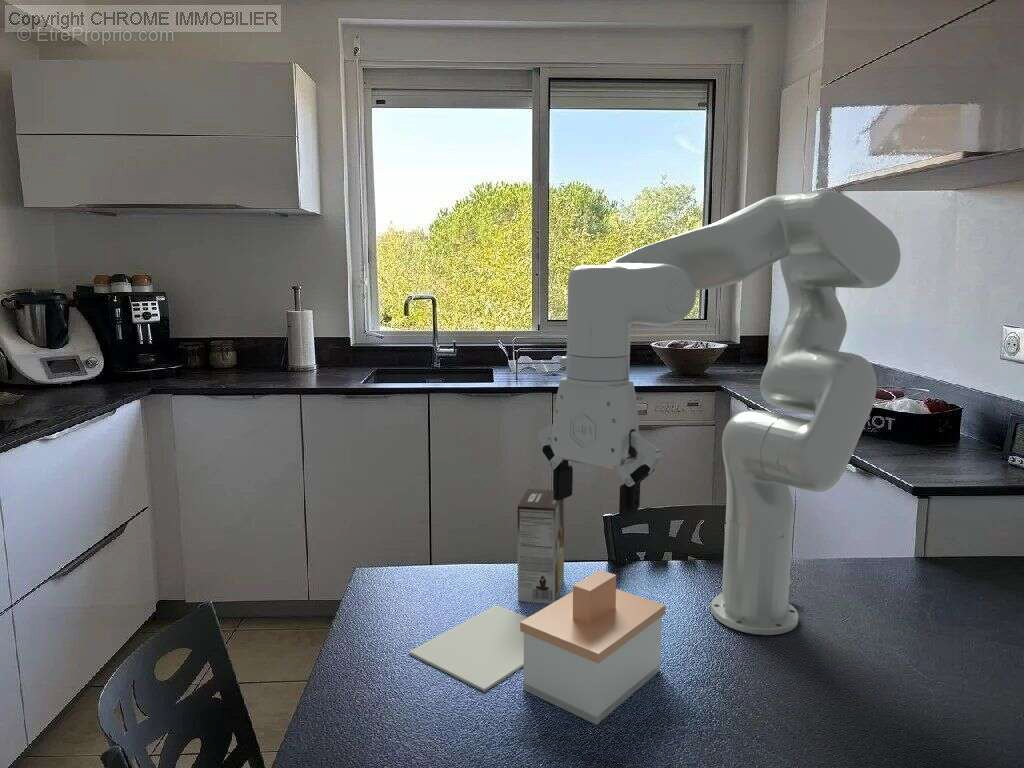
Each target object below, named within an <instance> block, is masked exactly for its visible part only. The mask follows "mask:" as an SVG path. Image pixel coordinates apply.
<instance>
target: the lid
mask: <svg viewBox="0 0 1024 768" xmlns="http://www.w3.org/2000/svg"><path fill="white" fill-rule="evenodd" d="M664 615H666V604H663V603H660V602H657V601H655V600H651V599H648V598H646V597H642V596H639V595H635V594H633V593H630V592H627V591H624V590H621V589H618V588H617V574H615V573H611V572H608V571H604V570H601V569H599V570H597V571H595V572H594V573H592V574H591V575H588V576H587V577H584V579H582V580H580V581H578V582H576V583H575V584H573V585H572V591H571V592H569V593H568V594H566V595H564V596H562V597H560V598H558V599H557V601H555V602H554V603H552V604H548V605H546V606H545V607H544V608H542V609H540V610H539V611H537V612H535V613H533V614H532V615H530V616H527V617H528V618H526V619H525V620H523V621H521V622H520V631H521V632H523V633H526V634H528V635H531V636H533V637H535V638H538V639H540V640H543V641H545V642H547V643H550V644H552V645H555V646H557V647H559V648H562V649H564V650H567V651H569V652H571V653H574V654H576V655H579V656H581V657H584V658H586V659H588V660H591V661H593V662H596V663H598V664H599V663H600V662H601V661H603V660H604V659H605V658H607V657H608V656H609V655H611V654H612V653H613V652H615V651H616V650H617V649H619V648H620V647H621V646H623V645H624V644H625V643H627V642H628V641H629V640H631V639H632V638H633V637H635V636H636V635H637V634H639V633H640V632H641V631H643V630H644V629H645V628H647V627H648V626H649V625H651V624H652V623H653V622H655V621H656V620H657V619H659V618H660V617H661V616H662V617H663V616H664Z"/></svg>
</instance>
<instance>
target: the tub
mask: <svg viewBox="0 0 1024 768" xmlns="http://www.w3.org/2000/svg"><path fill="white" fill-rule="evenodd" d="M662 617H663V616H661V617H660V618H659V619H657V620H656V621H655V622H653V623H652V624H651V625H649V626H648V627H647V628H645V629H644V630H643V631H641V632H640V633H639V634H637V635H636V636H635V637H633V638H632V639H631V640H629V641H628V642H627V643H625V644H624V645H623V646H621V647H620V648H619V649H617V650H616V651H615V652H613V653H612V654H611V655H609V656H608V657H607V658H605V659H604V660H603V661H601V662H600V663H599V664H598V663H596V662H593V661H591V660H588V659H586V658H584V657H581V656H579V655H576V654H574V653H571V652H569V651H567V650H564V649H562V648H559V647H557V646H555V645H552V644H550V643H547V642H545V641H543V640H540V639H538V638H535V637H533V636H531V635H528V634H526V633H524V666H523V691H525V692H527V693H530V694H532V695H533V696H536V697H537V698H540V699H542V700H544V701H546V702H548V703H550V704H552V705H554V706H556V707H558V708H561V709H562V710H565V711H568V712H569V713H570V714H572V715H575V716H577V717H579V718H582V719H583V720H586V721H588V722H589V723H592V724H594V725H596V726H597V725H599V724H600V723H601V722H602V721H603V720H604V719H605V718H607V717H608V716H609V715H610V714H612V713H613V711H615V710H616V709H617V708H618V707H619V706H621V704H623V703H624V702H626V700H627V699H628V698H630V697H631V696H632V695H634V693H636V692H637V691H638V690H639V689H640V688H641V687H643V686H644V685H645V684H646V683H647V682H649V681H650V680H651V679H652V678H653V677H654V676H656V675H657V674H658V673H659V672H660V671H661V652H662V651H661V650H662V626H663V625H662V619H663V618H662Z"/></svg>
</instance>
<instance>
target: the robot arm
mask: <svg viewBox="0 0 1024 768" xmlns="http://www.w3.org/2000/svg"><path fill="white" fill-rule="evenodd" d="M901 254H902V253H901V248H900V244H899V241H898V239H897V237H896V235H895V234H894V232H893V231H892V230H891V229H890V228H889V227H888V225H886V224H884V223H883V221H881V220H880V219H878V217H876V216H875V215H873V214H872V213H871V212H869V211H868V210H867V209H866V208H865V207H864V206H863V205H861V204H859V203H858V202H857V201H855V200H854V199H852V198H851V197H849V196H847V195H845V194H843V193H841V192H838V191H834V190H830V189H823V190H812V191H811V190H809V191H800V192H798V191H797V192H789V193H779V194H775V195H771V196H767V197H765V198H763V199H761V200H759V201H756V202H755V203H752V204H750V205H748V206H747V207H744V208H742V209H740V210H738V211H736V212H734V213H732V214H730V215H728V216H725V217H723V218H722V219H720V220H717V221H715V222H713V223H710V224H708V225H705V226H701V227H700V228H696V229H692V230H689V231H686V232H683V233H680V234H677V235H675V236H671V237H669V238H664V239H662V240H659V241H656V242H652V243H649V244H647V245H644V246H641V247H639V248H636V249H634V250H632V251H630V252H627V253H625V254H623V255H621V256H619V257H617V258H615V259H613V260H611V261H609V262H607V263H606V264H584V265H582V264H581V265H578V266H575V267H573V268H572V269H571V270H570V272H569V273H568V280H567V313H566V314H567V316H566V318H567V321H566V322H567V323H566V324H567V325H566V326H567V327H566V334H567V335H566V355H565V356H564V355H563V356H561V358H560V361H559V364H560V366H561V368H562V367H563V368H565V369H566V370H565V371H566V372H565V375H566V376H565V377H562V378H560V381H559V384H558V389H557V394H556V397H555V403H554V410H553V411H554V412H553V419H552V421H553V422H552V424H549V425H548V426H546V427H544V428H541V429H539V430H538V431H537V436H538V439H539V442H540V444H541V446H542V449H541V450H542V452H543V455H544V456H545V458H547V461H549V462H548V466H549V468H550V469H551V470H552V473H553V475H552V479H553V480H552V490H554V500H557V501H559V500H562V499H564V500H565V499H566V498H567V499H568V498H569V497H571V496H572V495H573V481H574V480H573V479H574V478H573V477H574V475H573V474H574V471H573V470H574V469H573V465H570V464H569V463H571V462H572V463H578V464H581V465H587V466H592V467H596V468H602V469H606V470H607V469H608V470H613V469H616V471H617V473H618V475H619V477H620V478H621V479H622V481H623V484H621V485H620V486H619V506H618V516H619V517H620V518H622V519H626V518H629V517H632V516H633V515H635V514H636V513H638V510H639V508H640V502H641V483H642V482H644V481H645V479H647V477H649V476H650V475H651V474H652V473H653V472H654V471H655V467H656V466H657V464H658V463H659V461H660V459H661V457H662V455H663V453H662V451H661V450H660V449H659V448H658V447H656V445H654V444H653V443H651V442H650V441H649V440H647V439H646V438H644V436H642V435H641V434H640V428H639V427H640V425H639V409H638V402H637V401H638V400H637V396H636V391H635V390H636V389H635V385H634V382H633V381H630V370H631V369H630V367H631V366H630V363H631V361H630V360H631V355H630V354H631V336H632V335H631V330H632V329H631V328H632V327H631V326H632V325H634V324H639V325H646V326H653V327H654V326H656V327H666V326H671V325H674V324H677V323H679V322H681V321H682V320H684V319H685V318H686V317H687V316H688V315H690V313H691V311H692V310H693V308H694V306H695V303H696V301H697V300H696V299H697V291H699V290H709V289H716V288H721V287H726V286H731V285H734V284H738V283H740V282H742V281H744V280H746V279H747V278H749V277H751V276H753V275H754V274H756V273H759V272H760V271H761V270H763V269H765V268H767V267H769V266H770V265H772V264H775V263H777V262H778V261H779V264H780V265H779V266H780V269H781V270H780V271H781V274H782V278H783V280H784V284H785V288H786V293H787V297H788V315H787V318H786V321H785V323H784V326H783V329H782V330H781V333H780V335H779V337H778V339H777V341H776V343H775V345H774V348H773V350H772V352H771V355H770V356H769V359H768V361H767V363H766V365H765V367H764V370H763V372H762V375H761V379H760V383H759V391H760V395H761V396H762V398H763V400H765V401H766V402H767V403H768V404H770V405H772V406H774V407H776V408H779V409H784V410H787V411H792V412H796V413H799V414H806V415H811V416H812V418H811V419H810V420H809V419H807V418H806V419H805V418H800V417H795V416H792V415H787V414H782V413H778V412H773V411H768V410H761V409H748V410H744V411H741V412H739V413H736V414H735V415H733V416H732V417H731V418H730V419H729V420H728V421H727V423H726V425H725V427H724V429H723V433H722V437H721V451H722V458H723V463H724V464H723V465H724V469H725V479H726V480H725V481H726V506H725V521H724V522H725V529H724V543H723V544H724V547H723V549H724V550H723V568H722V569H723V570H722V571H723V572H722V589H721V591H722V592H721V593H719V594H717V595H715V597H713V598H712V600H711V603H710V611H711V614H712V615H713V617H714V618H715V619H716V620H717V621H718V622H719V623H721V624H722V625H724V626H726V627H728V628H730V629H733V630H735V631H739V632H742V633H746V634H751V635H758V636H759V635H761V636H775V635H781V634H786V633H789V632H791V631H793V630H795V628H797V626H798V623H799V612H798V610H797V609H796V607H794V605H792V604H791V603H790V602H789V593H790V592H789V591H790V585H791V584H792V579H791V575H790V574H791V560H792V559H791V558H792V545H793V544H792V543H793V532H794V531H793V530H794V529H793V528H794V519H795V517H794V516H795V507H794V499H793V496H792V493H791V489H790V488H789V487H793V488H796V489H800V490H803V491H807V492H814V493H822V492H826V491H828V490H830V489H832V488H833V487H834V486H835V485H836V484H837V483H838V482H839V481H840V479H841V478H842V476H843V474H844V472H845V471H846V469H847V467H848V464H849V462H850V460H851V458H852V457H853V456H852V455H853V454H854V450H855V449H856V446H857V444H858V441H859V439H860V437H861V435H862V432H863V430H864V428H865V425H866V424H867V421H868V419H869V417H870V414H871V412H872V410H873V406H874V404H875V400H876V395H877V375H876V372H875V368H874V366H872V364H871V363H870V362H869V360H867V359H866V358H865V357H863V356H861V355H859V354H855V353H852V352H846V351H840V349H841V347H842V345H843V344H842V343H843V341H844V339H845V336H846V333H847V329H848V326H847V325H848V324H847V317H846V315H845V311H844V309H843V307H842V305H841V303H840V301H839V300H838V297H837V296H836V293H835V291H834V288H842V289H843V288H849V289H874V288H878V287H881V286H884V285H886V284H887V283H889V282H890V281H891V280H892V279H893V278H894V277H895V274H896V273H897V271H898V269H899V267H900V265H901V264H900V263H901ZM639 453H640V454H641V455H642V456H643V461H642V463H641V465H639V464H638V462H637V458H638V455H639Z"/></svg>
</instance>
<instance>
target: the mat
mask: <svg viewBox="0 0 1024 768" xmlns="http://www.w3.org/2000/svg"><path fill="white" fill-rule="evenodd" d="M528 617H529V616H525V615H523V614H520V613H518V612H516V611H512V610H510V609H507V608H505V607H503V606H500V605H498V604H495V605H493V606H491V607H489V608H487V609H485V610H483V611H482V612H480V613H478V614H476V615H474V616H472V617H471V618H469V619H467V620H465V621H463V622H461V623H460V624H457V625H455V626H454V627H452V628H450V629H449V630H446V631H444V632H442V633H440V634H439V635H437V636H435V637H433V638H432V639H430V640H428V641H426V642H424V643H422V644H420V645H419V646H416V647H415V648H412V649H410V650H409V651H408V652H409V655H410V656H412V657H415V658H416V659H419V660H420V661H422V662H424V663H426V664H428V665H431V666H432V667H434V668H437V669H438V670H440V671H442V672H445V673H447V674H448V675H450V676H452V677H454V678H456V679H458V680H460V681H462V682H464V683H465V684H468V685H470V686H471V687H474V688H476V689H478V690H480V691H482V692H483V693H485V692H487V691H488V690H490V689H491V688H492V687H494V686H496V685H497V684H499V683H500V682H502V681H503V680H505V679H506V678H508V677H509V676H511V675H512V674H514V673H515V672H516V671H519V670H520V669H522V668H524V633H523V632H521V631H520V622H521V621H523V620H525V619H526V618H528Z"/></svg>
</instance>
